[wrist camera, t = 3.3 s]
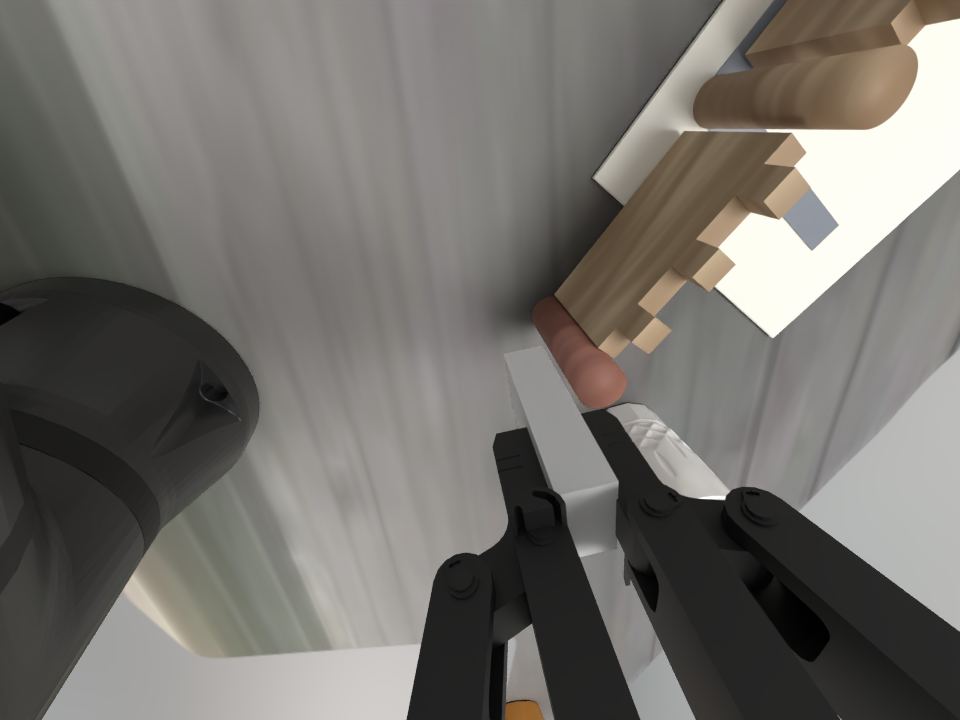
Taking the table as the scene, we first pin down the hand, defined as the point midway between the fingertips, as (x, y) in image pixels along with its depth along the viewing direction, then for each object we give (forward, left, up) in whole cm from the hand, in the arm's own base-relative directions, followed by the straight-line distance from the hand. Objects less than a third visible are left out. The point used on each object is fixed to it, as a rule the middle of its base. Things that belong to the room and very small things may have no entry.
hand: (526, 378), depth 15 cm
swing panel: (+5, +6, -10) cm, 13 cm away
